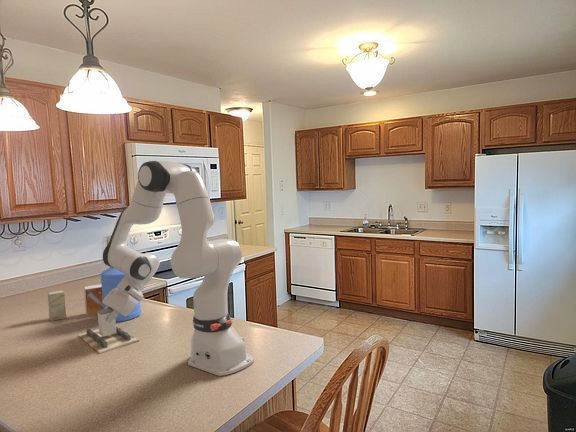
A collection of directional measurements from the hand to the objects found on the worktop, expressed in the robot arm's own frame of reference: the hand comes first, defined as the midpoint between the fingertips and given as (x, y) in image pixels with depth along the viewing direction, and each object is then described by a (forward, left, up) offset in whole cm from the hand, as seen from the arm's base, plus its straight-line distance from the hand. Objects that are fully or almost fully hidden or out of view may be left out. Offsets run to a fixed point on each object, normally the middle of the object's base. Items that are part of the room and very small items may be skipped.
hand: (105, 320), depth 147 cm
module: (0, -1, -5) cm, 5 cm away
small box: (+36, -8, -8) cm, 38 cm away
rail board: (0, -1, -8) cm, 8 cm away
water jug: (+22, -15, -8) cm, 28 cm away
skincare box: (+43, +6, -8) cm, 44 cm away
